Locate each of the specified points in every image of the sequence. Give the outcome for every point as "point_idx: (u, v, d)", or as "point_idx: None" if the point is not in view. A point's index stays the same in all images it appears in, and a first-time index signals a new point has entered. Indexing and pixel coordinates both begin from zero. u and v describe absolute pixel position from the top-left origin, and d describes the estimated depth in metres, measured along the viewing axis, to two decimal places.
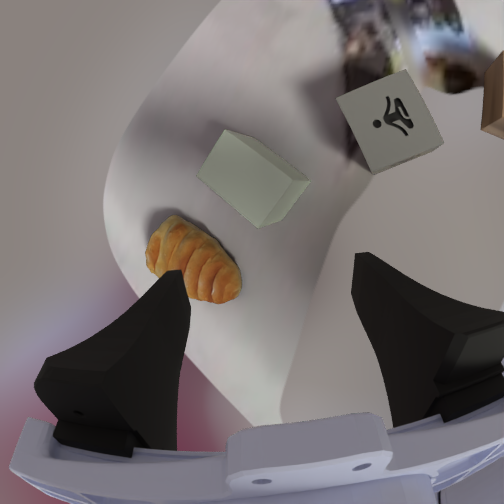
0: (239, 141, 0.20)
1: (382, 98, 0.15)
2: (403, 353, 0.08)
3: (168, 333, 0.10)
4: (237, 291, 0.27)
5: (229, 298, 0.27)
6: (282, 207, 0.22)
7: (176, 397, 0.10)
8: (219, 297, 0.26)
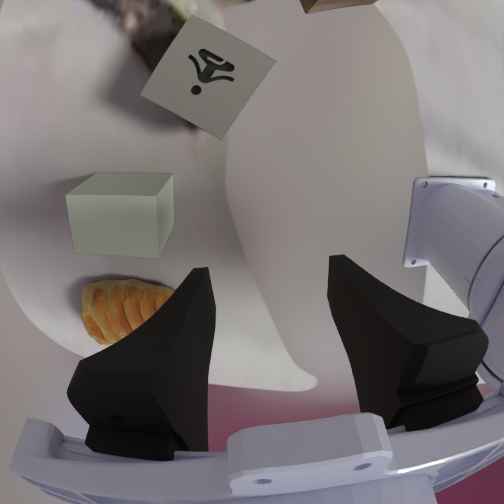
0: (85, 196, 0.16)
1: (185, 61, 0.13)
2: (371, 360, 0.08)
3: (199, 332, 0.10)
4: None
5: None
6: (165, 220, 0.19)
7: (206, 397, 0.10)
8: None
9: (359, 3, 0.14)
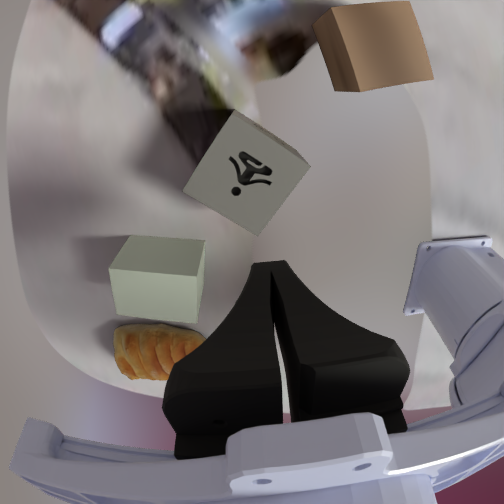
0: (129, 271, 0.19)
1: (226, 162, 0.16)
2: (290, 372, 0.08)
3: None
4: None
5: None
6: (200, 287, 0.22)
7: None
8: None
9: None
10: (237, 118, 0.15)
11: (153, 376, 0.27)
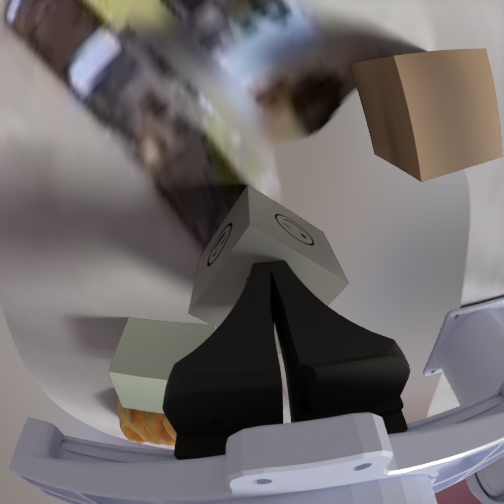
0: (132, 376, 0.16)
1: (243, 284, 0.13)
2: (290, 372, 0.08)
3: None
4: None
5: None
6: None
7: None
8: None
9: None
10: (257, 230, 0.11)
11: (162, 443, 0.23)
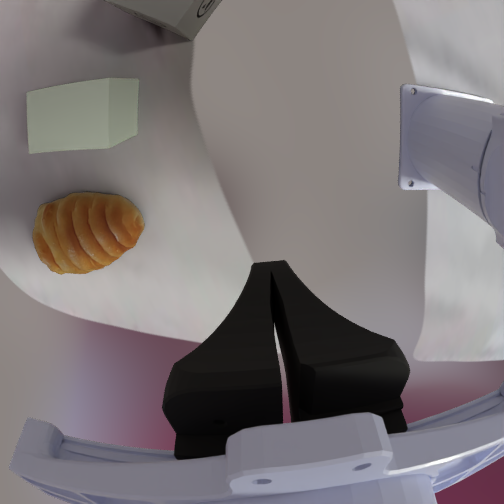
0: (44, 89, 0.13)
1: None
2: (290, 372, 0.08)
3: None
4: (138, 218, 0.21)
5: (136, 230, 0.21)
6: (123, 116, 0.16)
7: None
8: (127, 237, 0.21)
9: None
10: None
11: (72, 259, 0.20)
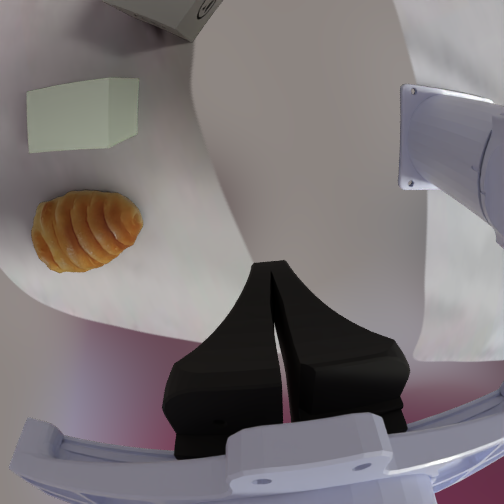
0: (44, 89, 0.13)
1: None
2: (290, 372, 0.08)
3: None
4: (136, 216, 0.21)
5: (135, 228, 0.21)
6: (122, 115, 0.16)
7: None
8: (126, 235, 0.21)
9: None
10: None
11: (71, 258, 0.20)
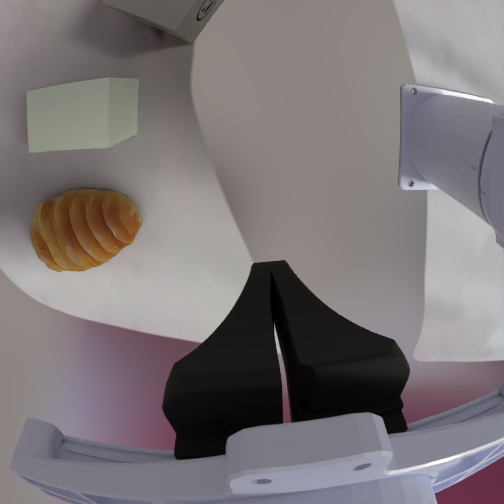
0: (44, 89, 0.13)
1: None
2: (290, 372, 0.08)
3: None
4: (135, 214, 0.21)
5: (134, 226, 0.21)
6: (123, 115, 0.16)
7: None
8: (125, 233, 0.21)
9: None
10: None
11: (70, 256, 0.20)
